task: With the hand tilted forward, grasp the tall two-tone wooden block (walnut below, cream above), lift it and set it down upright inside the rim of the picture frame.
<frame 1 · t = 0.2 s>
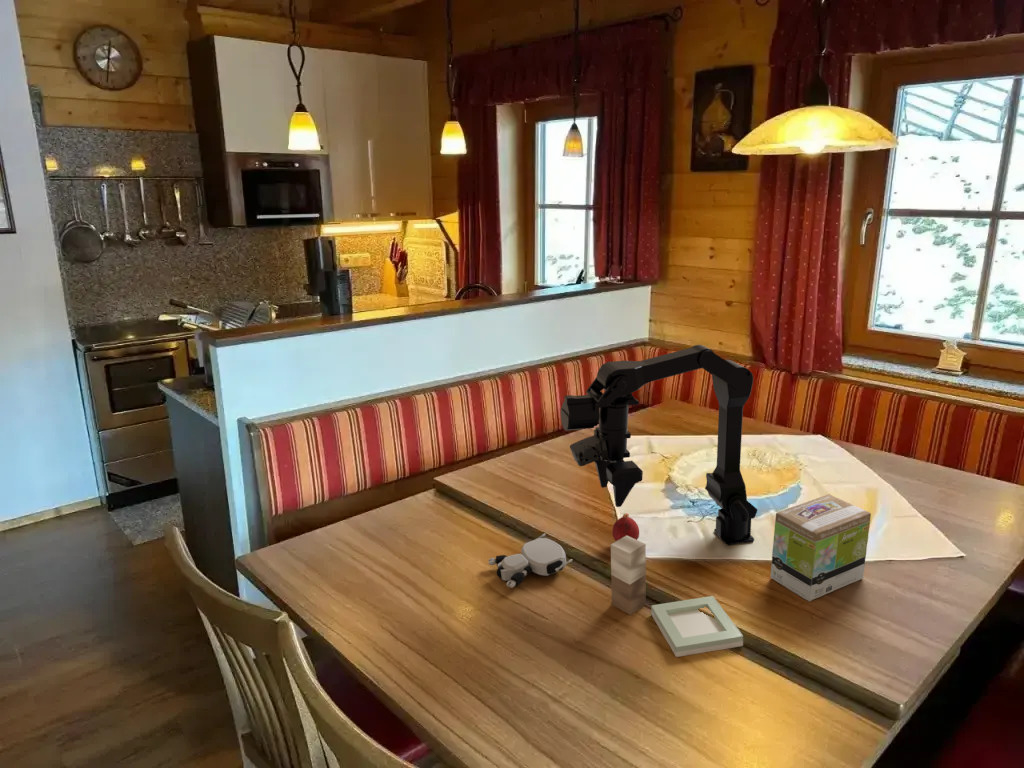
hand: (610, 496, 146), 14 cm above the table, tool pointing down, fingers open, 9 cm apart
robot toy: (530, 573, 147), on the table
block stack: (628, 604, 134), on the table
tea box: (816, 579, 138), on the table
picture frame: (695, 629, 126), on the table
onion: (625, 547, 154), on the table
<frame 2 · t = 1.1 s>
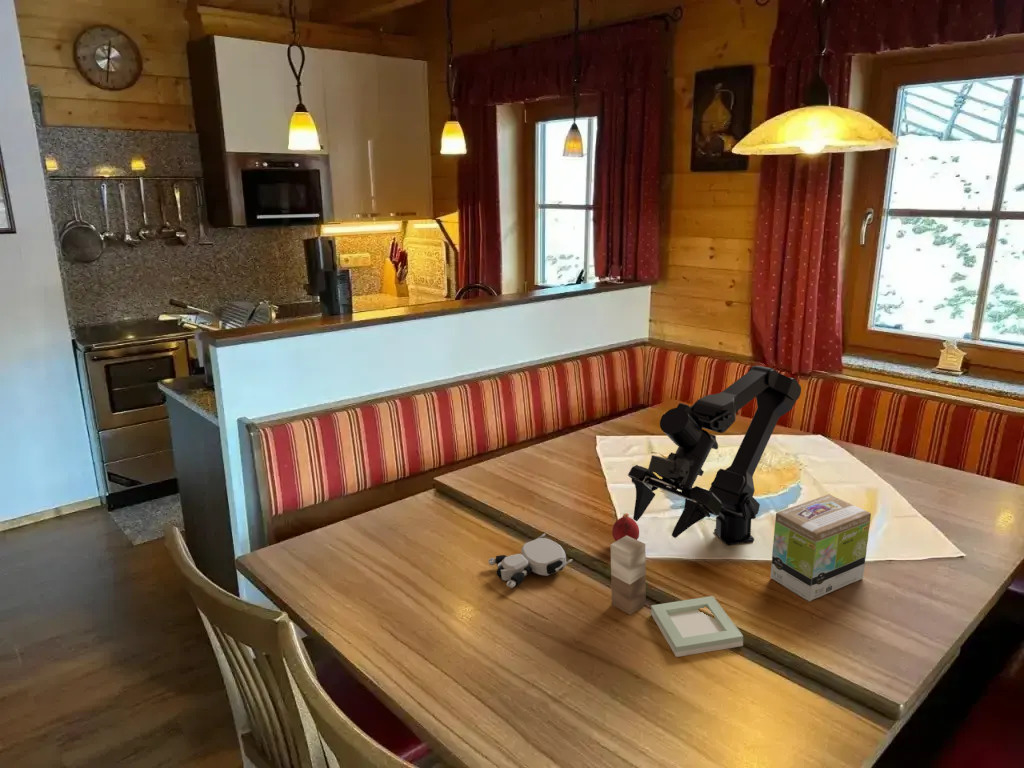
hand: (653, 528, 134), 13 cm above the table, tool tilted 45°, fingers open, 9 cm apart
nothing on the table moved.
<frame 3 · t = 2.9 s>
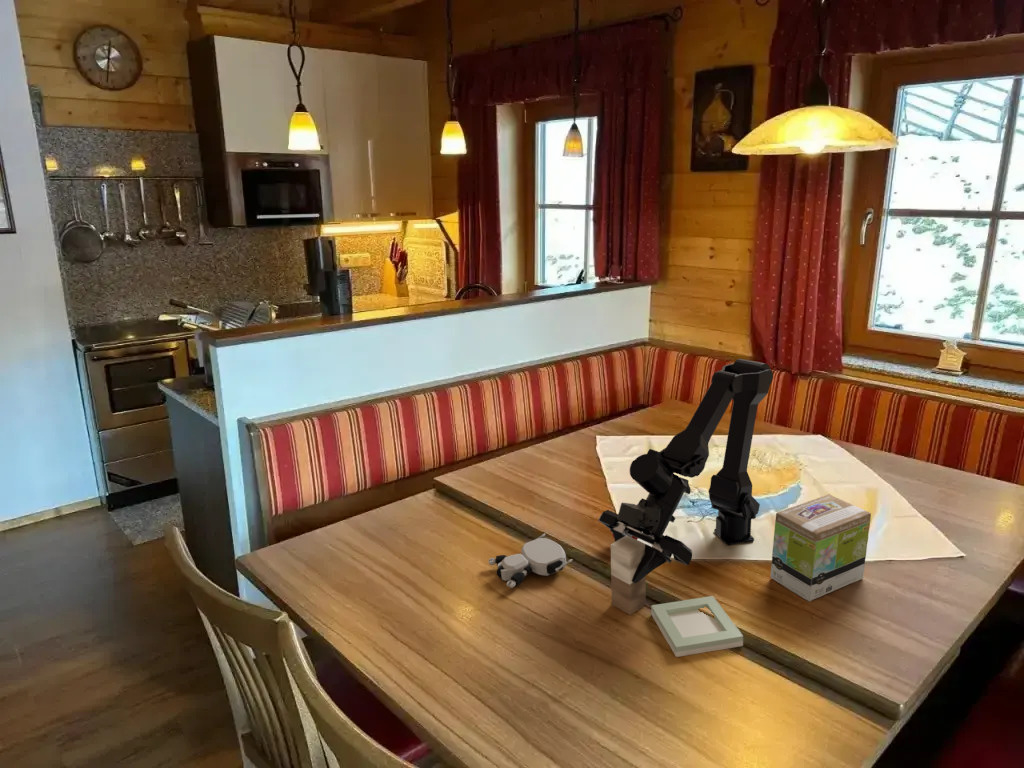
hand: (623, 577, 131), 7 cm above the table, tool tilted 45°, fingers closed on block stack, 4 cm apart
block stack: (628, 604, 134), on the table, touching gripper
everything else where it was.
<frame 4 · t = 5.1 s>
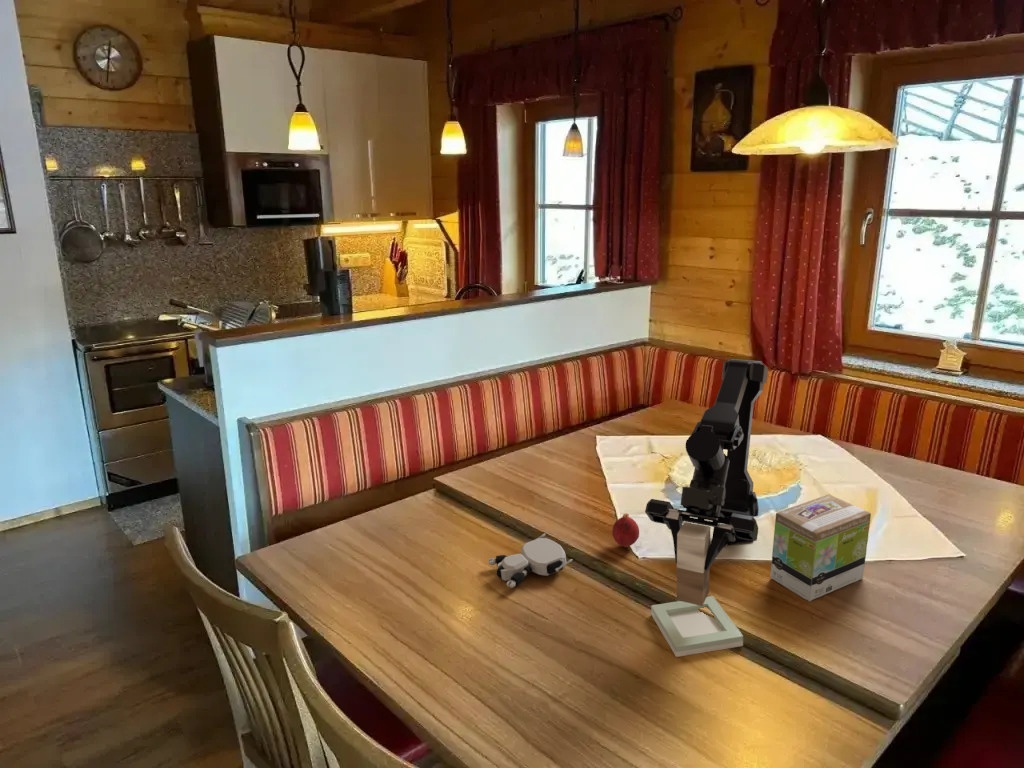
hand: (691, 567, 121), 13 cm above the table, tool tilted 45°, fingers closed on block stack, 4 cm apart
block stack: (692, 595, 124), point 7 cm above the table, touching gripper
everything else where it was.
when the fingers open (8 cm above the table, at t = 7.1 s): block stack stays where it is, resting on picture frame.
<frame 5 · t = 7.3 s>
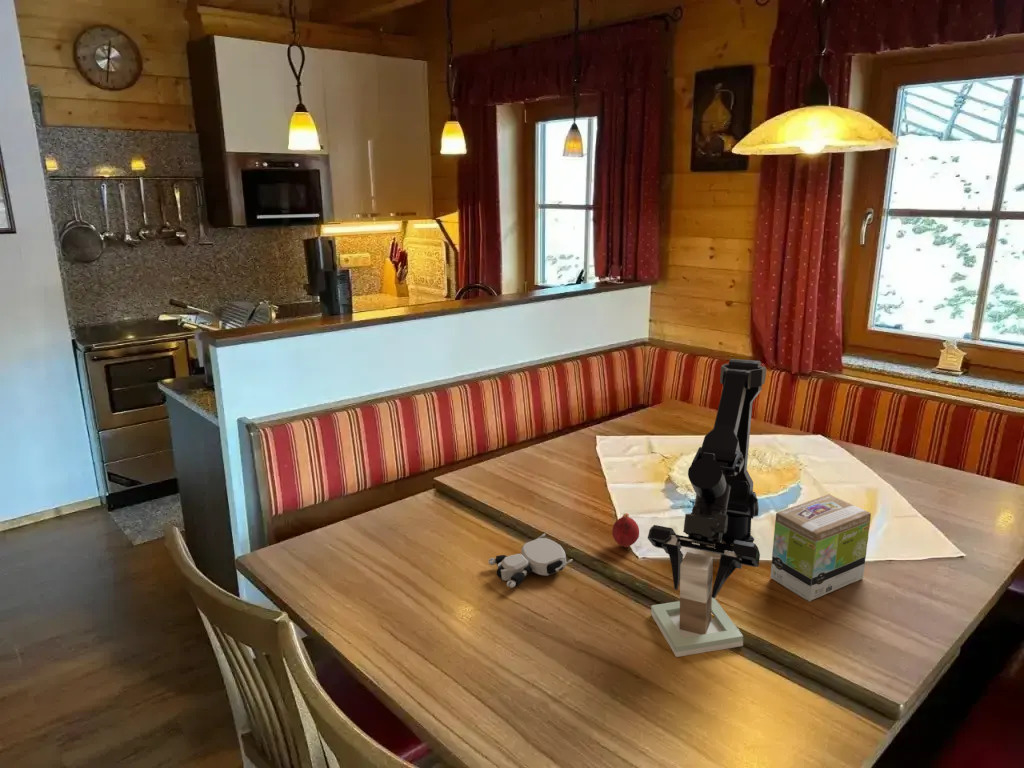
hand: (694, 593, 122), 8 cm above the table, tool tilted 45°, fingers open, 6 cm apart
block stack: (695, 624, 125), point 1 cm above the table, touching picture frame
everything else where it was.
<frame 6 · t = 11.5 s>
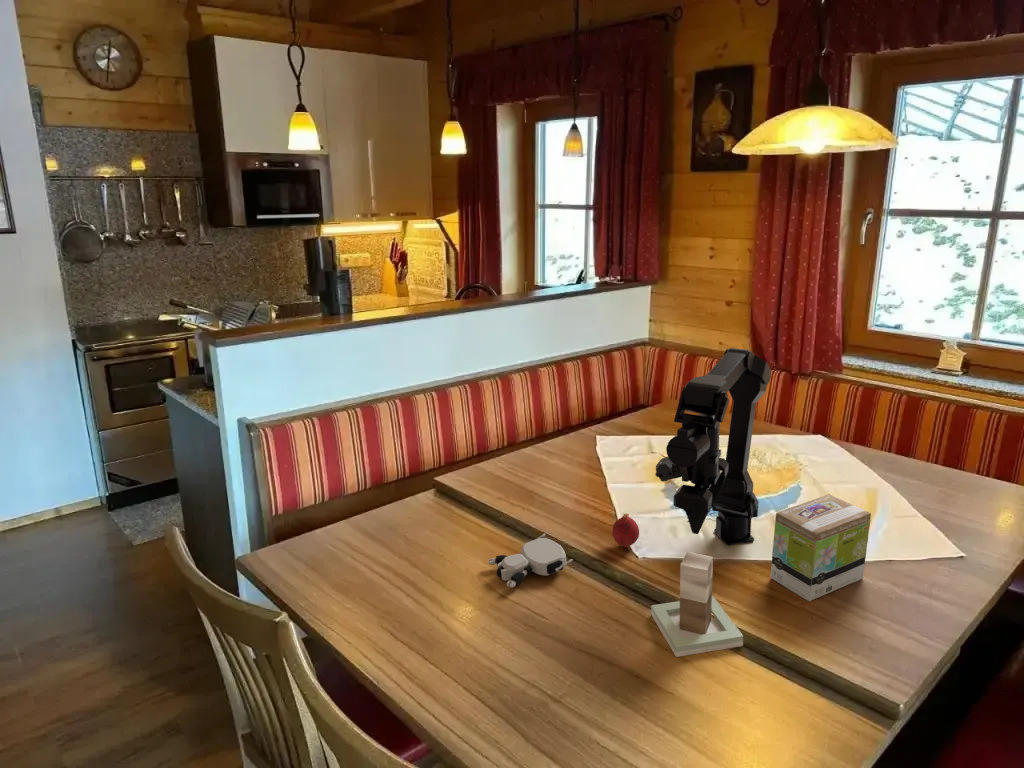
hand: (701, 522, 136), 13 cm above the table, tool pointing down, fingers open, 9 cm apart
nothing on the table moved.
at the end: block stack 0.0 cm off-centre on the picture frame, point 1.0 cm above the picture frame's base; block stack tilted 0°; the gripper is holding nothing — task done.
